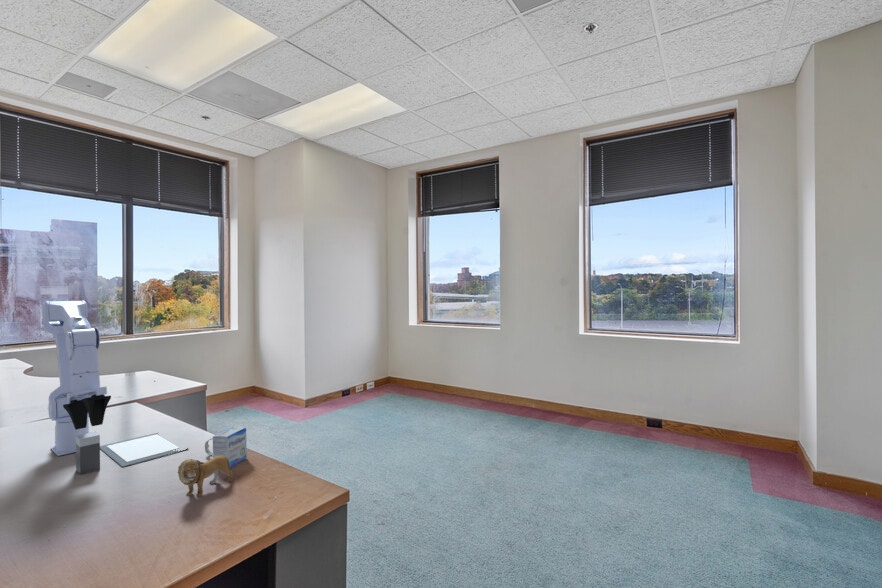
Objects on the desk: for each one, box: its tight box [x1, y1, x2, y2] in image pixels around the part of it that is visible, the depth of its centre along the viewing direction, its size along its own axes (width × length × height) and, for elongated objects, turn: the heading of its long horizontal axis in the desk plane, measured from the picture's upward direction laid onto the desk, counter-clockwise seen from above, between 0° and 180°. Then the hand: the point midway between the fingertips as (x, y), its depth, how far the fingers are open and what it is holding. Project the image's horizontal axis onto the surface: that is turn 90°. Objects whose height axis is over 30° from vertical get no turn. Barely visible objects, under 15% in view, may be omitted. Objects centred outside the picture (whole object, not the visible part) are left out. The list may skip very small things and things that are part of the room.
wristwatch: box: [204, 437, 213, 457], centre depth 122 cm, size 3×5×5 cm, turn 89°
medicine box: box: [212, 426, 248, 469], centre depth 116 cm, size 8×4×9 cm, turn 168°
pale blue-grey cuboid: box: [75, 431, 101, 476], centre depth 112 cm, size 4×4×9 cm
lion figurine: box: [177, 456, 234, 498], centre depth 102 cm, size 15×5×9 cm, turn 163°
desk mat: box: [100, 432, 182, 468], centre depth 126 cm, size 22×16×1 cm
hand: (88, 427), depth 111 cm, fingers open, 7 cm apart
